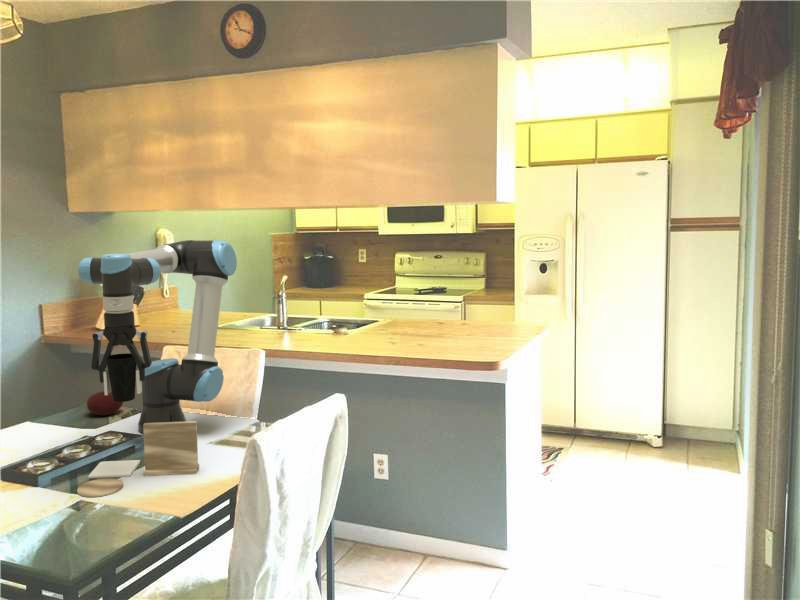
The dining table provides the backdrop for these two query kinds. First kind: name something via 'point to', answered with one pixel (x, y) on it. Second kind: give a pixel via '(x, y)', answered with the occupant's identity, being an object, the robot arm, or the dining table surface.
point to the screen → (170, 448)
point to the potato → (102, 404)
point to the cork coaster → (100, 487)
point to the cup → (122, 376)
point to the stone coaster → (114, 469)
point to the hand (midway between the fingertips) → (123, 393)
